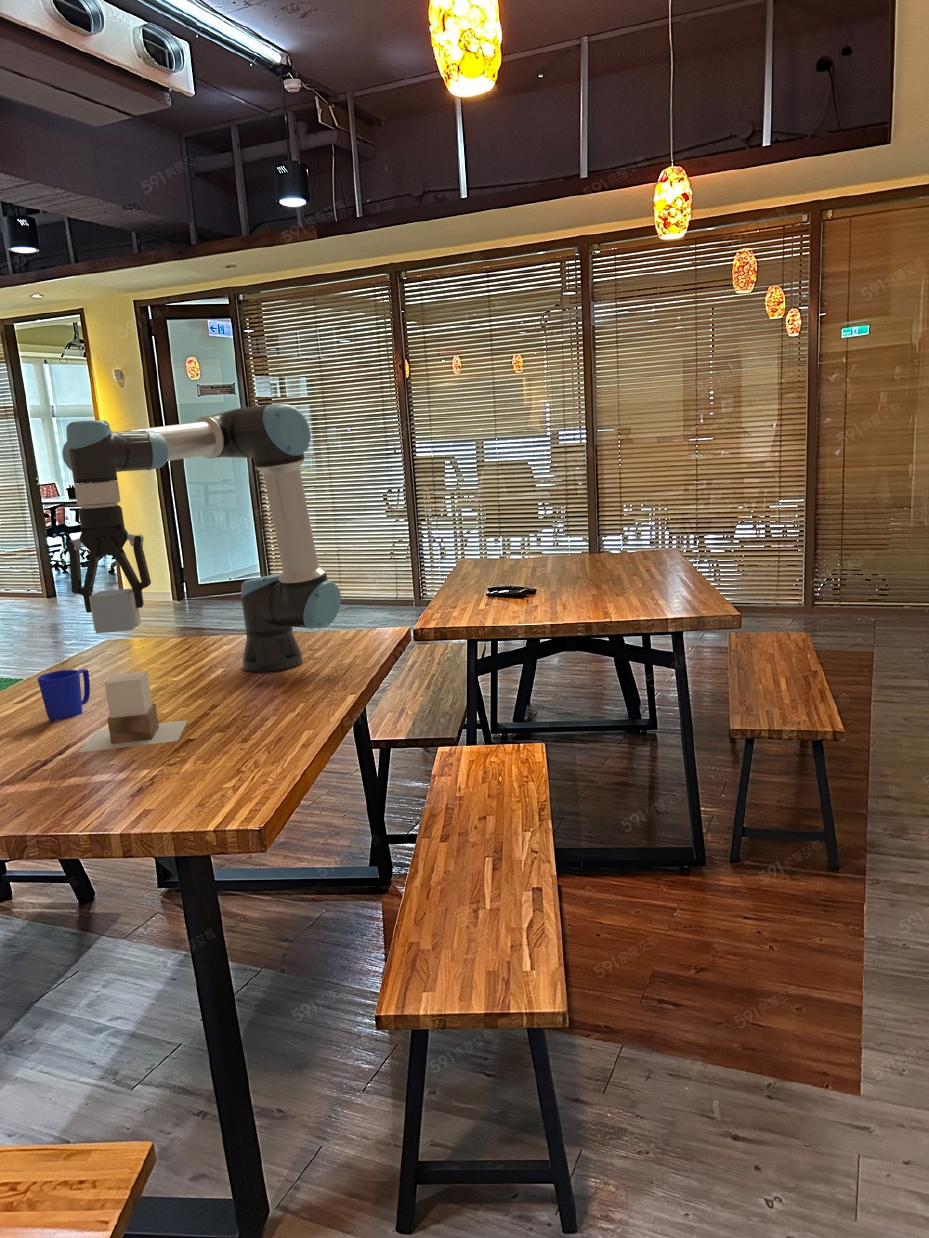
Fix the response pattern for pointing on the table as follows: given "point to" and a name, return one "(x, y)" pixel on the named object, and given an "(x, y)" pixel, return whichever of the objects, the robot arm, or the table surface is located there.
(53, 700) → the mug
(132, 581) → the robot arm
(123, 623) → the brick
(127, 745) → the plate
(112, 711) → the brick
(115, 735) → the base brick
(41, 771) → the table surface
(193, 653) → the table surface
